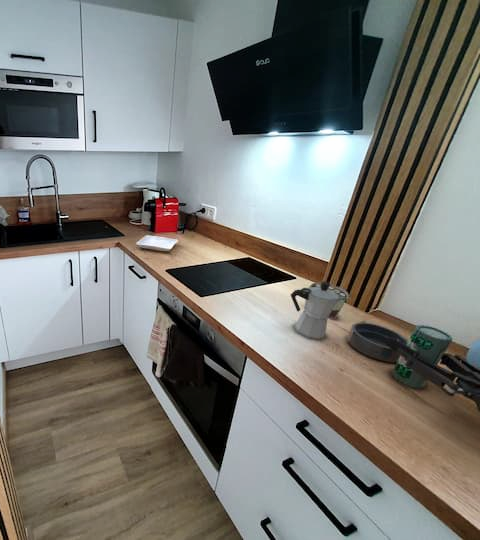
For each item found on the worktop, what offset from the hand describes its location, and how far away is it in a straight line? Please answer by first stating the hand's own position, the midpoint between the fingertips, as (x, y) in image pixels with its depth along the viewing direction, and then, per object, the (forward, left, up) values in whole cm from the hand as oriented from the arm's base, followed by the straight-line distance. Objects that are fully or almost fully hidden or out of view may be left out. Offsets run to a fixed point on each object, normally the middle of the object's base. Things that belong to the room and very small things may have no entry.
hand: (401, 341), depth 77 cm
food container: (+11, -27, -9) cm, 30 cm away
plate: (+90, -69, -9) cm, 114 cm away
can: (-3, +4, -9) cm, 10 cm away
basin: (+1, -8, -9) cm, 12 cm away
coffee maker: (+19, -9, -9) cm, 23 cm away
